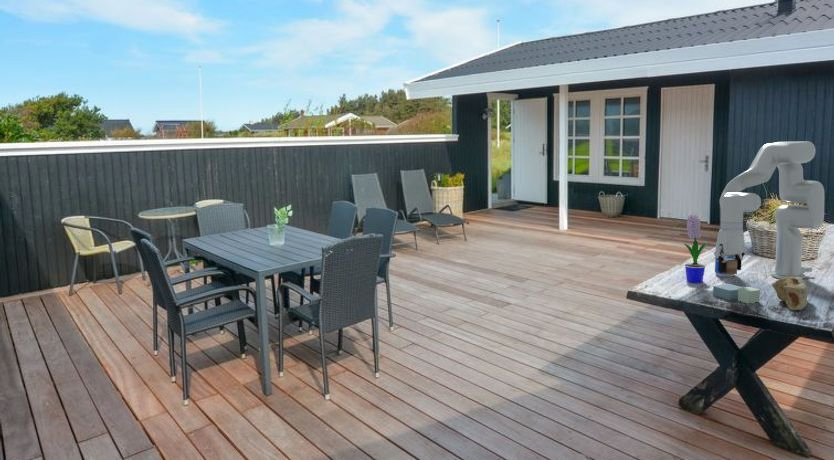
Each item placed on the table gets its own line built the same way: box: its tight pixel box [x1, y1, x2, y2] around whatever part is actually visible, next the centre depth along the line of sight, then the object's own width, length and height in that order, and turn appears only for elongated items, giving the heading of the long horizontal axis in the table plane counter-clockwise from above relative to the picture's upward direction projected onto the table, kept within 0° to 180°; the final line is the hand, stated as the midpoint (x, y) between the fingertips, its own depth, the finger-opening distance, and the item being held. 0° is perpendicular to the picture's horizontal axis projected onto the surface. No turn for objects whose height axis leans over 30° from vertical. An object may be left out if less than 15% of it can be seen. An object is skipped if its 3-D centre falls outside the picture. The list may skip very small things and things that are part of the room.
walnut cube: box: [722, 259, 738, 275], centre depth 222 cm, size 5×5×5 cm
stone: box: [771, 276, 809, 311], centre depth 208 cm, size 17×12×10 cm
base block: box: [712, 283, 744, 301], centre depth 224 cm, size 8×8×4 cm
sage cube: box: [737, 286, 761, 305], centre depth 215 cm, size 5×5×5 cm
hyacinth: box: [683, 213, 711, 284], centre depth 245 cm, size 9×10×30 cm
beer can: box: [714, 255, 735, 278], centre depth 254 cm, size 8×8×16 cm
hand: (729, 270), depth 222 cm, fingers closed on walnut cube, 7 cm apart
